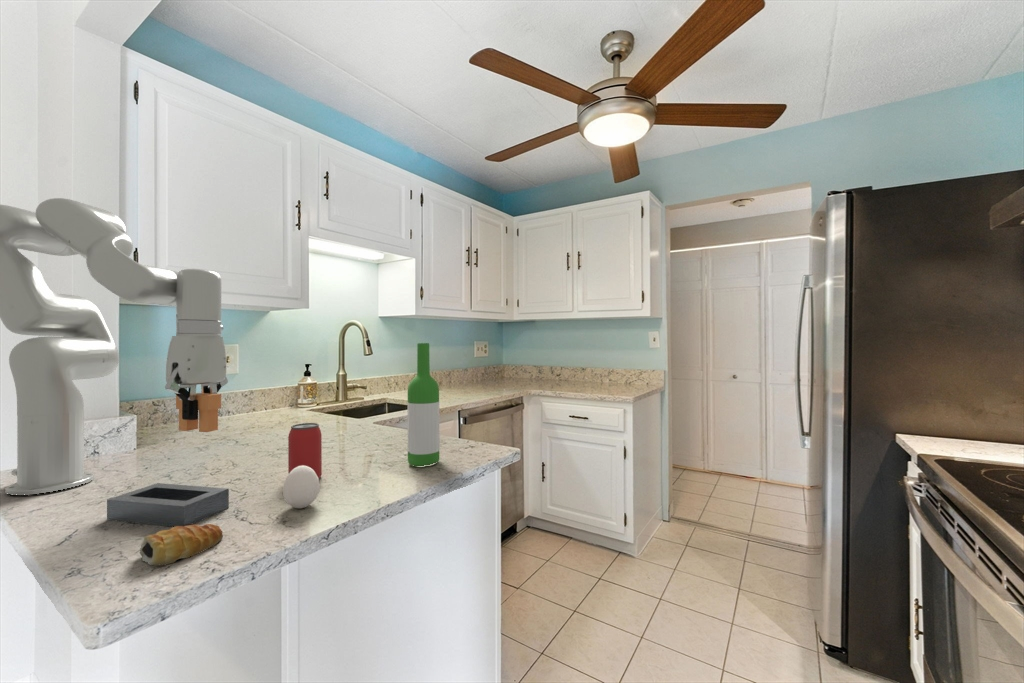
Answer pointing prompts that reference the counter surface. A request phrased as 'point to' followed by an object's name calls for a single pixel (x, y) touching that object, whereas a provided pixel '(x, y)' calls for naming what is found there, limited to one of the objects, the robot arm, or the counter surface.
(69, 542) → the counter surface
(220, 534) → the pastry
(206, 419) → the tall orange stepped block
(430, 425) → the wine bottle
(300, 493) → the egg
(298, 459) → the beer can
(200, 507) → the gray rectangular frame
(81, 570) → the counter surface
